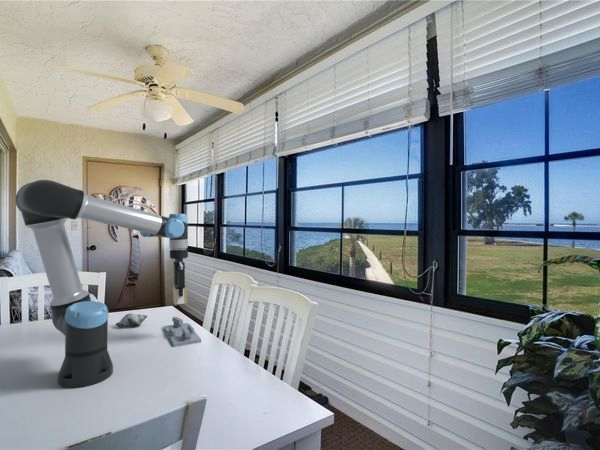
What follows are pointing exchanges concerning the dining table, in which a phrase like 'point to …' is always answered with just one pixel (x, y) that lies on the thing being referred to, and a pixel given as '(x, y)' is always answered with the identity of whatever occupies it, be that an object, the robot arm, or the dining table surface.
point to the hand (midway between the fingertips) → (179, 301)
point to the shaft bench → (181, 333)
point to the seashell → (131, 320)
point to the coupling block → (176, 295)
